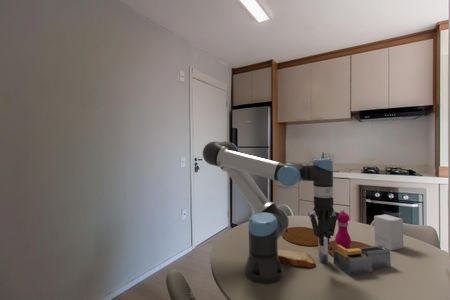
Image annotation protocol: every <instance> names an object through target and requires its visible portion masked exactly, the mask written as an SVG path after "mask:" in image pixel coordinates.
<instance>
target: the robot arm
mask: <svg viewBox="0 0 450 300" xmlns="http://www.w3.org/2000/svg"><path fill="white" fill-rule="evenodd" d="M239 151H240V150H239V148H238V146H236V144H234V143H233V142H230V141H211V142H208V143H207V144H206V145H204V147H203V150H202V158H203V159H204V161H205V162H206V164H209V165H211V166H215V167H219V168H220V170H222V172H226V173H227V174H228V176H229V177H230V179H231V180H232V181H233V184H235V186H236V187H237V189H238V190H239V191H240V193H241V194H242V195H243V196H242V197H244V198H245V200H246V202H247V203H248V204H249V206H250V207H251V209H252V210H253V211H254V213H253V214H252V215H250V217H249V218H248V225H247V228H248V256H247V259H246V263H245V266H244V270H245V272H244V273H245V276H246V277H247V278H248V279H249V280H252V281H253V282H255V283H258V284H273V283H274V284H275V283H277V282H279V281H280V280H281V279H282V278H283V268H282V263H280V261H279V258H278V250H279V249H278V240H279V239H280V238H281V236H282V235H283V234H285V233H286V231H287V229H288V227H289V223H290V222H289V217H288V214H287V213H286V212H285V210H284V209H282V208H280V207H278V206H277V205H276V204H275V202H273V201H269V200H268V198H267V197H266V195H265V193H264V192H263V191H262V190H261V189H260V187H259V186H258V185H257V183H256V181H255V180H254V179H253V177H252V176H251V175H250V174H252V175H255V176H259V177H263V178H266V179H269V180H272V181H276V182H279V183H280V184H281V185H283V186H286V187H292V186H294V185H297V184H298V183H299V182H302V181H303V182H312V184H313V185H312V186H313V209H312V210H313V211H312V212H308V214H307V216H308V217H309V219H310V222H311V226H312V227H311V228H312V230H313V234H314V236H315V237H317V238H318V237H319V245H321V252H322V253H323V254H324V255H326V254H328V255H329V246H330V239H331V238H332V237H333V236H335V230H336V226H337V221H338V220H337V217H338V216H339V212H337V211H335V209H334V197H333V196H334V168H333V165H334V164H333V160H331V159H330V158H314V159H313V160H312V163H304V162H303V163H301V162H300V163H298V162H297V163H295V162H288V163H283V162H280V161H275V160H271V159H267V158H263V157H259V156H256V155H251V154H246V153H242V152H239ZM319 245H318V246H319Z"/></svg>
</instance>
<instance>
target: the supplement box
mask: <svg viewBox="0 0 450 300" xmlns="http://www.w3.org/2000/svg"><path fill="white" fill-rule="evenodd" d="M373 219H374V223H373V224H374V244H375V245H376V246H382V247H383V248H384V249H388V250H390V251H395V250H401V249H404V219H403V218H401V217H397V216H393V215H391V214H390V215H389V214H381V215H380V214H378V215H374V217H373Z"/></svg>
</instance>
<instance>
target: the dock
mask: <svg viewBox="0 0 450 300" xmlns="http://www.w3.org/2000/svg"><path fill="white" fill-rule="evenodd" d="M383 248H384V247H382V246H379V245H375V246H365V247H359V249H361V250H362V254H353V255H348V257H344V256H342V255H341V254H339V253H338V252H337V249H333V264H334V265H335V266H336V267H338V268H339V269H340V270H341V271H343V272H345V274H347V275H348V276H349V277H352V276H362V275H368V274H369V275H370V274H372V273H373V270H377V269H386V268H391V250H388V249H386V248H384V249H383ZM348 249H355V248H354V247H350V248H348Z"/></svg>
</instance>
